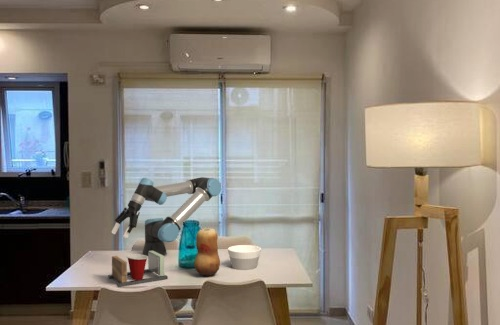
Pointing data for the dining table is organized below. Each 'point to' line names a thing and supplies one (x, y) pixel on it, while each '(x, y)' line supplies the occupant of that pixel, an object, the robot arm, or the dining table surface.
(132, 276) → the plastic cup
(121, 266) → the vise bed
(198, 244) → the butternut squash
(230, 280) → the dining table surface
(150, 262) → the block
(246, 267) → the bowl
